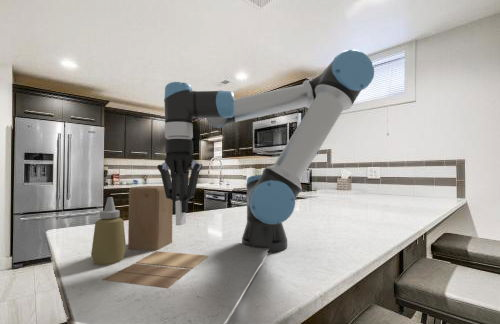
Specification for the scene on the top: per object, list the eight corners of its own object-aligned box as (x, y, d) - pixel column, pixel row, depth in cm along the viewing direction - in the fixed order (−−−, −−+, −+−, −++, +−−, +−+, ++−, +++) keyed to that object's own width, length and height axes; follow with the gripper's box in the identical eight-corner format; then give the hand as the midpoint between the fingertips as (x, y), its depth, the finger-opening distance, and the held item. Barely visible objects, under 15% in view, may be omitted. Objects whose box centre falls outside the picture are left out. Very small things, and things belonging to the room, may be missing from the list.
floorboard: (191, 275, 61) (191, 269, 61) (167, 295, 51) (167, 287, 51) (133, 269, 65) (133, 263, 65) (101, 286, 55) (101, 279, 55)
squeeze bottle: (100, 261, 71) (101, 196, 72) (130, 260, 72) (131, 195, 73) (84, 272, 63) (85, 199, 64) (118, 271, 64) (119, 198, 65)
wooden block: (156, 255, 76) (157, 187, 76) (126, 253, 78) (127, 187, 78) (173, 246, 85) (173, 185, 86) (146, 244, 87) (146, 185, 88)
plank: (207, 261, 70) (207, 255, 70) (192, 275, 62) (192, 268, 62) (156, 256, 74) (156, 251, 74) (134, 269, 66) (134, 262, 66)
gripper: (206, 139, 74) (208, 222, 73) (166, 142, 77) (167, 221, 76) (194, 136, 67) (196, 228, 66) (150, 139, 70) (151, 226, 69)
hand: (180, 224), depth 71 cm, fingers closed
